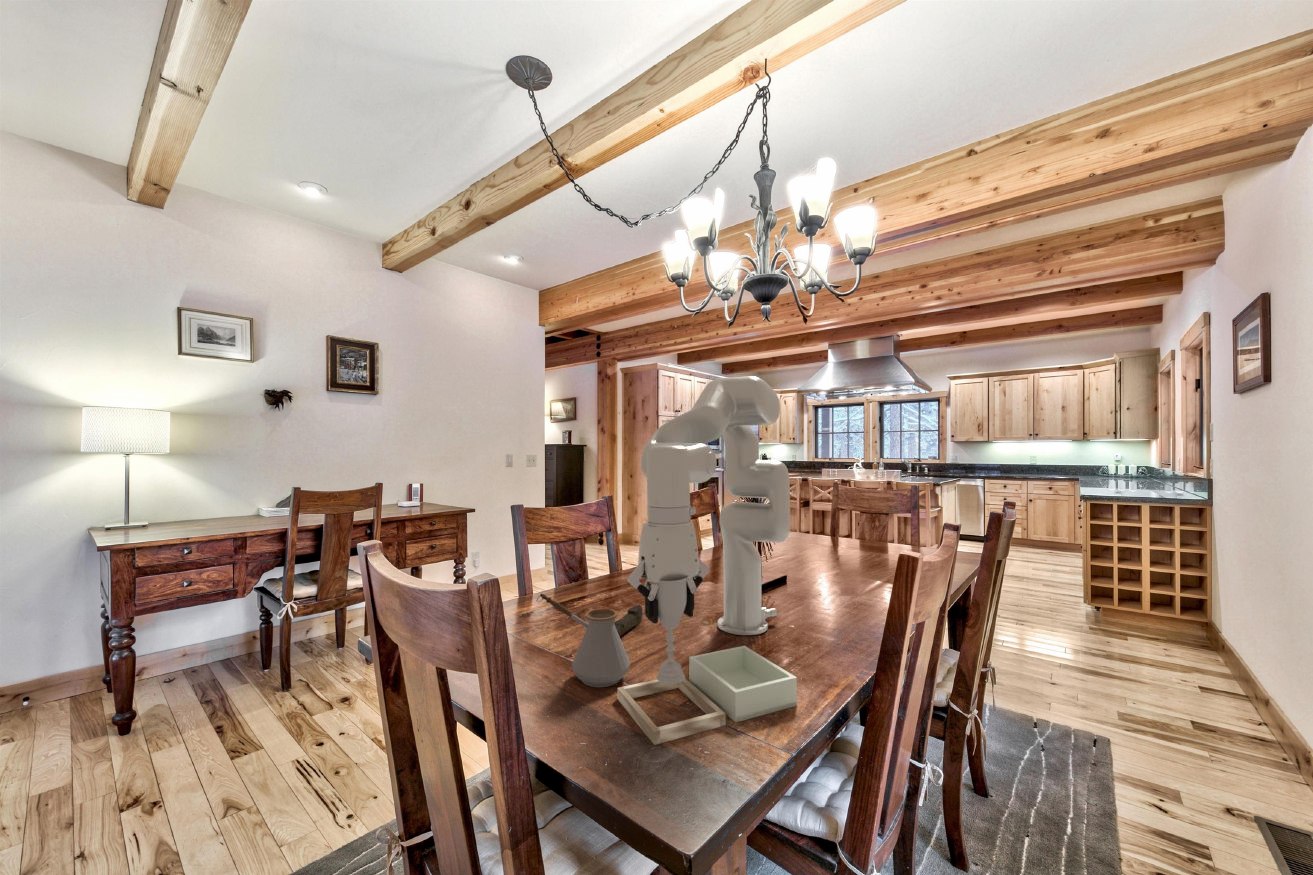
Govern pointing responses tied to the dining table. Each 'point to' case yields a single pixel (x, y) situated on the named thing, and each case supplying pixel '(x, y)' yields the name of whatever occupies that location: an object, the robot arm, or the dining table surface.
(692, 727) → the ash frame
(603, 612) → the coffee pot
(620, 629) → the hand tool
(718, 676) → the sage bin
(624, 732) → the dining table surface
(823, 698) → the dining table surface
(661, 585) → the chalice
